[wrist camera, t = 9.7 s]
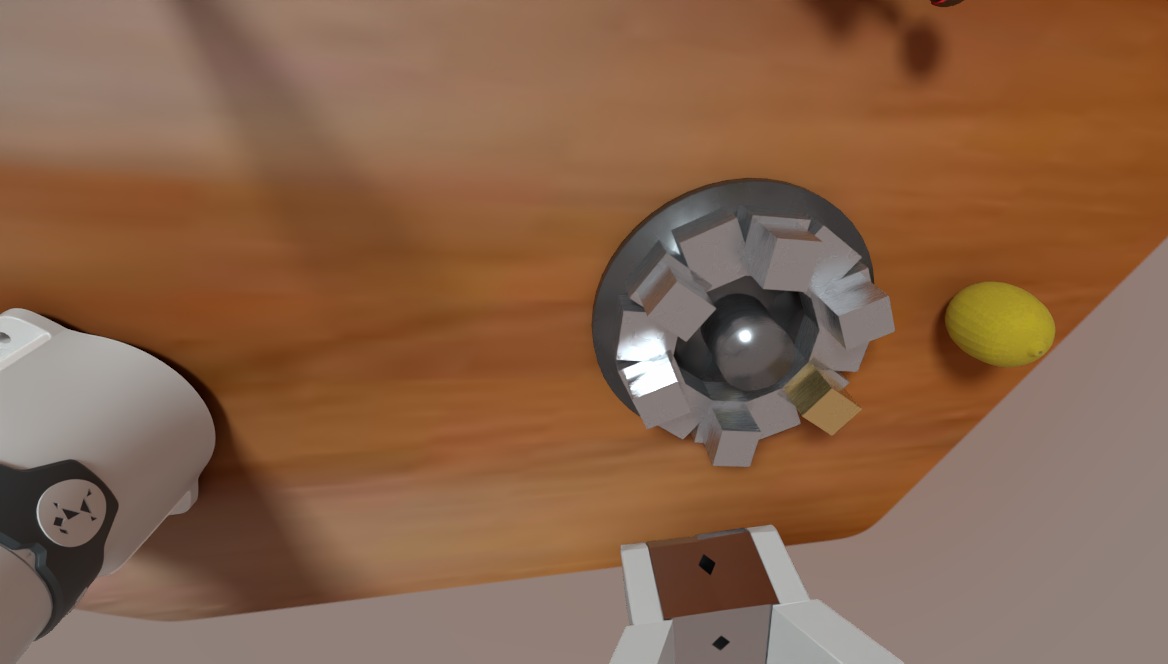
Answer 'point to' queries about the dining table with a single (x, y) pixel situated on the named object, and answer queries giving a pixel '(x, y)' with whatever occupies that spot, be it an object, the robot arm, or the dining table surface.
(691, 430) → the cube bead bracelet
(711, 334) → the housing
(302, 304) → the dining table surface
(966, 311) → the lemon
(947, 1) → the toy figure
